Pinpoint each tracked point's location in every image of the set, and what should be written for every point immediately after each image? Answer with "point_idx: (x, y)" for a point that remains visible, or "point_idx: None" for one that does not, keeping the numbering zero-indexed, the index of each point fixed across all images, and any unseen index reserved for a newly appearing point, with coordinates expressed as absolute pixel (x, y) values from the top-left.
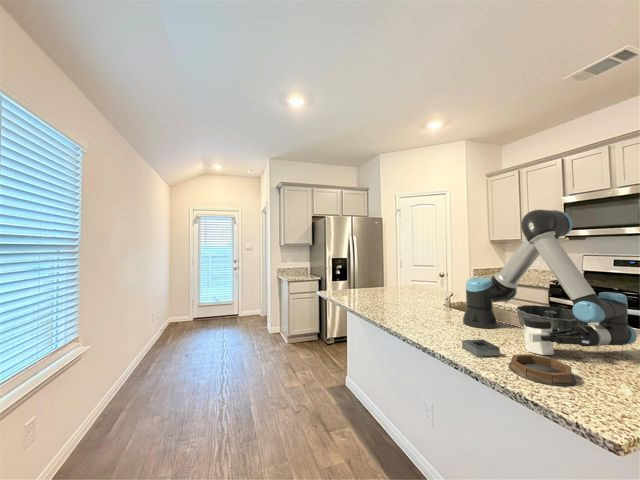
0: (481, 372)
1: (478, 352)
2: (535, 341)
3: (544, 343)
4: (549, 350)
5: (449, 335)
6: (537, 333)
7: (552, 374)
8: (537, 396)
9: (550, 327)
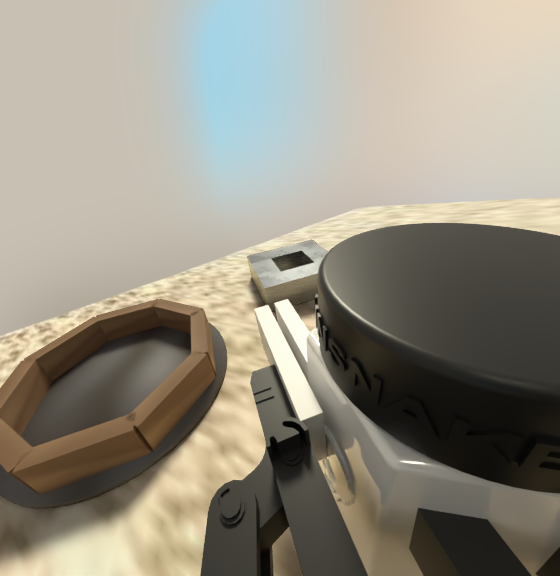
0: (166, 280)
1: (250, 267)
2: (268, 359)
3: None
4: None
5: None
6: (293, 338)
7: (23, 361)
8: (31, 335)
9: (400, 431)
